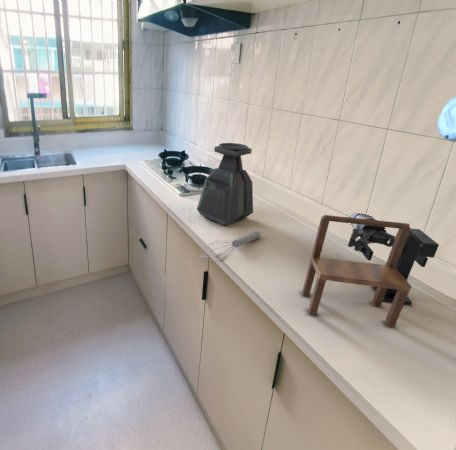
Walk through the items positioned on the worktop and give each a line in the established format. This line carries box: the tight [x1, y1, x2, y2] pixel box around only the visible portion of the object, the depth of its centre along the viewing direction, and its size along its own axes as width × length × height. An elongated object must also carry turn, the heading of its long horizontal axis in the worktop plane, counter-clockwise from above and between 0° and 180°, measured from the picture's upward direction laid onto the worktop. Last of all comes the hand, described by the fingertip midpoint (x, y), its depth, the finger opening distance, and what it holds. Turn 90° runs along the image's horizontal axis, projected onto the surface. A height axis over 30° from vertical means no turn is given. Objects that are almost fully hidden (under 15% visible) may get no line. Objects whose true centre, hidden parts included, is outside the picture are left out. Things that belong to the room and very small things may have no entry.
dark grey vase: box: [196, 142, 254, 226], centre depth 136 cm, size 18×16×30 cm
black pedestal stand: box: [372, 227, 440, 306], centre depth 88 cm, size 11×7×20 cm, turn 169°
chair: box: [301, 214, 412, 328], centre depth 83 cm, size 20×10×24 cm, turn 79°
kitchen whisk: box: [200, 231, 261, 265], centre depth 114 cm, size 6×34×6 cm, turn 134°
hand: (397, 259), depth 93 cm, fingers open, 13 cm apart
